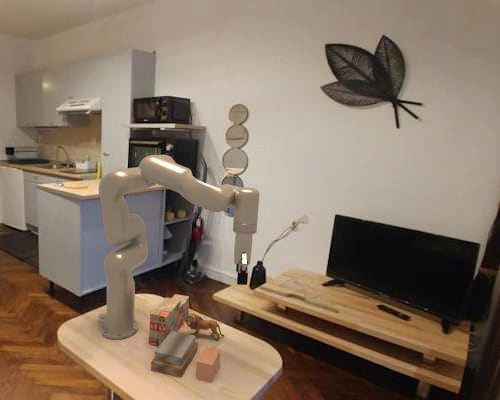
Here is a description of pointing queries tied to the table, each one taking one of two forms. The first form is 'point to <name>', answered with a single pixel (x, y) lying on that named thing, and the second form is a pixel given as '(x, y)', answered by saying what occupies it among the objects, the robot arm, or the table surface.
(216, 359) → the terracotta brick
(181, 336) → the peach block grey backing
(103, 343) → the table surface
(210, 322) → the lion figurine
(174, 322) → the stack of blocks
